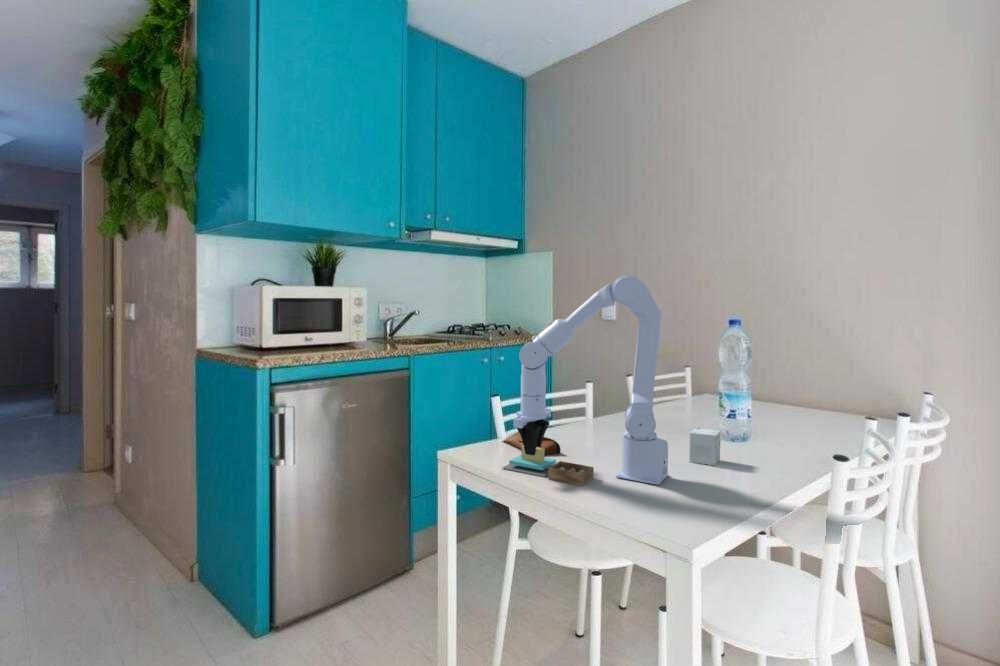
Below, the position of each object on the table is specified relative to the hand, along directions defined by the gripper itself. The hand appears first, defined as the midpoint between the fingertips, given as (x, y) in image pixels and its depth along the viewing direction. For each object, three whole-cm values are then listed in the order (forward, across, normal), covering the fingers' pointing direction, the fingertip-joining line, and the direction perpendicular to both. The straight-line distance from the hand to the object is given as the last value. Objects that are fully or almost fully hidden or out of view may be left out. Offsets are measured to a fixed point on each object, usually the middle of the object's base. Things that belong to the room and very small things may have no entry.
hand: (532, 453), depth 122 cm
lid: (+2, 0, 0) cm, 2 cm away
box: (+3, +2, +10) cm, 11 cm away
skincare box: (+4, -28, +32) cm, 43 cm away
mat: (+3, 0, 0) cm, 3 cm away
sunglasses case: (+4, -15, -9) cm, 18 cm away
